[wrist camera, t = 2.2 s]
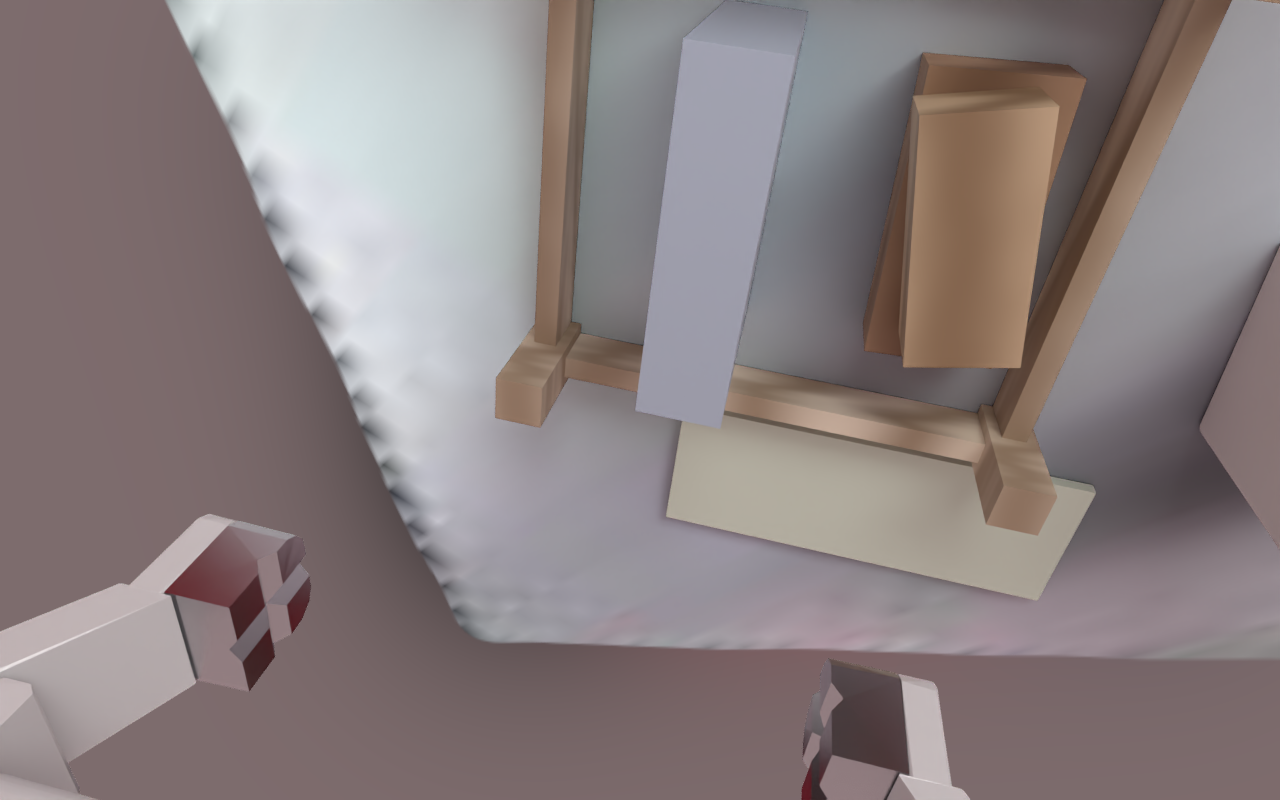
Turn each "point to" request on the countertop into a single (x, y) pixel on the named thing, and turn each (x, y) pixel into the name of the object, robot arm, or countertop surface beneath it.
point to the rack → (987, 438)
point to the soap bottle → (1252, 408)
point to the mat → (863, 503)
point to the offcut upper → (973, 225)
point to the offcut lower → (932, 79)
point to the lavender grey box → (715, 204)
